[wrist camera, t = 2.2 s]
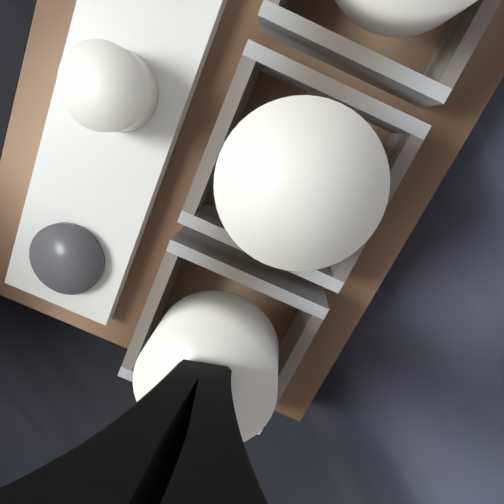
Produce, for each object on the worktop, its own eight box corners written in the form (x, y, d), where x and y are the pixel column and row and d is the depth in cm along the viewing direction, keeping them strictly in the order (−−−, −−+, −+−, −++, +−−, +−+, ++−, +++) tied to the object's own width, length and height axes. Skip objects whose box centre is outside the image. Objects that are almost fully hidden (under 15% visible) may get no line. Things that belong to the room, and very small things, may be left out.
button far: (299, 321, 13) (303, 360, 10) (248, 416, 14) (242, 468, 12) (181, 270, 12) (160, 299, 10) (140, 370, 14) (114, 415, 11)
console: (553, -46, 12) (654, -111, 9) (298, 397, 18) (301, 460, 14) (130, -261, 12) (68, -418, 8) (-2, 270, 17) (-71, 304, 14)
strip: (288, -169, 11) (290, -237, 9) (112, 318, 16) (86, 346, 14) (150, -239, 11) (119, -326, 9) (15, 276, 15) (-26, 299, 13)
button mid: (397, 139, 11) (424, 142, 9) (328, 267, 12) (338, 296, 10) (261, 76, 11) (255, 62, 8) (205, 212, 12) (188, 230, 10)
